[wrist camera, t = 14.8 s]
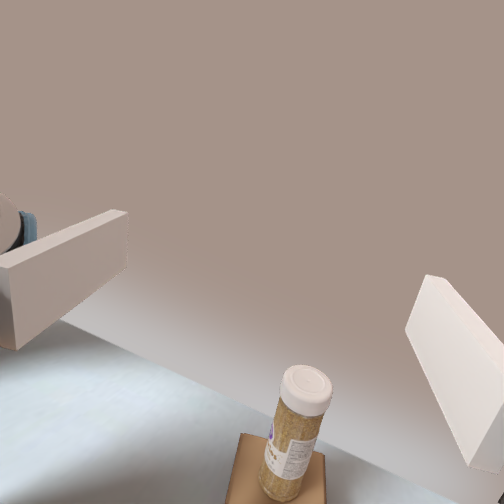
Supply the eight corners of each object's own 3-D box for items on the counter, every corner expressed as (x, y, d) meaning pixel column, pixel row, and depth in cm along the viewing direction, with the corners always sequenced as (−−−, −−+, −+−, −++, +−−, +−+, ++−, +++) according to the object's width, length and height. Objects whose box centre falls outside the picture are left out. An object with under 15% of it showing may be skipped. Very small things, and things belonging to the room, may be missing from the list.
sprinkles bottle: (253, 461, 37) (277, 362, 32) (293, 459, 38) (323, 362, 33) (262, 506, 33) (291, 400, 28) (307, 502, 34) (342, 399, 29)
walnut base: (215, 545, 33) (221, 518, 31) (236, 453, 42) (241, 429, 41) (319, 576, 32) (330, 549, 30) (317, 475, 41) (325, 451, 40)
